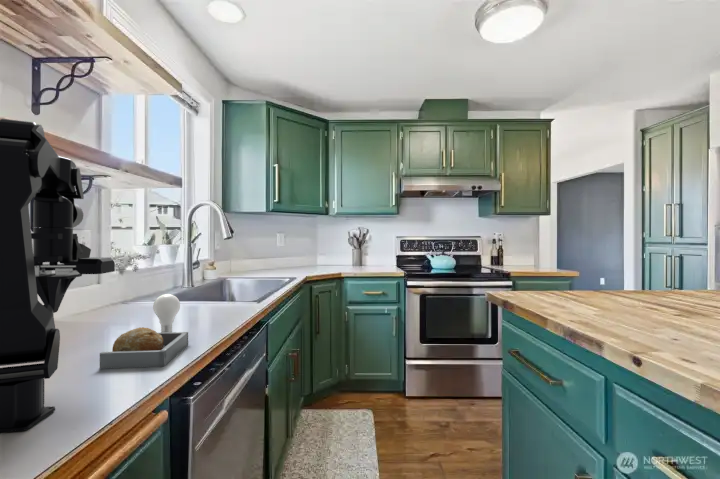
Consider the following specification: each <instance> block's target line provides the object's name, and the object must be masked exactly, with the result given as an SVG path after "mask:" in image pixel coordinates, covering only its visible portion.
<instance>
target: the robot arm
mask: <svg viewBox="0 0 720 479" xmlns="http://www.w3.org/2000/svg"><path fill="white" fill-rule="evenodd" d="M81 175H82V173H81V170H80V168H79V167H77V165H76V163H75V162H74V161H73V160H72V159H70V158H67V157H65V156H63V157H62V156H60V155H58V153H57V152H56V151H55V149H54V148H53V147H52V145H51V144H50V142H49V140H47V138H46V137H45V131H44V127H43V125H42V124H37V123H36V122H35V121H26V120H18V119H7V118H0V433H6V432H7V433H8V432H22V431H26V430H29V429H30V428H32V426H34V425H36V424H37V423H39V422H40V421H42V420H43V419H45V418H46V417H47V416H49V415H50V414H51V413H53V412H54V411H56V406H45V380H46V379H50V378H51V377H52V376H53V375H54V374H55V372H56V371H57V370H58V368H59V366H58V364H59V354H60V345H61V332H60V329H59V328H56V324H55V318H54V314H55V313H58V311H59V308H60V307H61V304H62V303H63V302H62V301H63V299H64V297H65V295H66V293H67V290H68V289H69V288H70V285H71V283H72V282H73V281H75V279H76V278H79V277H82V276H83V275H101V274H102V275H103V274H107V273H108V274H109V273H114V272H116V270H115V266H116V263H115V261H114V259H113V258H112V257H110V256H109V257H101V256H99V257H97V256H96V257H95V256H94V257H91V252H92V249H91V248H90V247H88V246H86V245H85V244H83V243H79V240H78V239H79V237H78V233H74V229H73V228H76V227H77V226H79V225H80V224H81V223H82V221H83V220H84V212H83V209H82V207H80V206H79V204H77V203H76V202H75V200H84V198H85V197H84V190H83V189H84V188H83V181H82V176H81ZM32 200H33V211H32V212H33V214H32V215H33V216H32V217H33V218H32V219H33V220H32V221H33V224H32V225H33V229H32V230H33V233H32V230H31V220H30V210H29V204H30V203H31V201H32ZM46 263H47V264H46ZM52 271H55V272H54V273H52ZM38 297H39V298H40V300H41V302H42V303H41V302H40V301H39V298H38ZM42 362H43V363H42ZM3 366H4V367H3Z"/></svg>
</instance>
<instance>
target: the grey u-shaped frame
mask: <svg viewBox="0 0 720 479" xmlns="http://www.w3.org/2000/svg"><path fill="white" fill-rule="evenodd" d="M157 333H158V334H160V335H161V336H162V338H163V342H164V346H163V349H162V350H153V351H118V352H112V351H102V352H100V353H99V369H100V368H103V369H128V368H155V367H156V368H157V367H160V368H161V367H165V366H166V365H168V364H169V363H170V362H171V361H172V360H173V359H174V358H175V357H176V356H177V355H178V354H179V353H181V352H182V351H183V350H184V349H185V348H186V347H187V346H188V345H189V331H179V332H176V331H175V332H173V331H172V332H167V333H161V332H157Z"/></svg>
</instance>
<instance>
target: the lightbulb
mask: <svg viewBox="0 0 720 479" xmlns="http://www.w3.org/2000/svg"><path fill="white" fill-rule="evenodd" d="M180 309H181V302H180V300H179V298H178V297H177V296H176V295H174V294H172V293H164V294H161V295H160V296H158V297H157V298H156V299H154V301H153V304H152V310H153V312H154V314H155V316H156V317H157V318H158V320H159V323H160V333H167V332H173V323H174V320H175V318H176V316H177V314H178V313H179V311H180Z"/></svg>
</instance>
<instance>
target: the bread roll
mask: <svg viewBox="0 0 720 479" xmlns="http://www.w3.org/2000/svg"><path fill="white" fill-rule="evenodd" d="M158 333H159V332H157V331H155V330H153V329H152V328H149V327H136V328H133V329H130V330H128V331H126V332H124V333H121V334H120V335H119V336H118V337H117V338H116V340H115V341H114V343H113V344H112V351H111V352H118V351H153V350H162V349H163V348H164V347H165V346H164V342H163V338H162V336H161V335H160V334H158Z"/></svg>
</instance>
